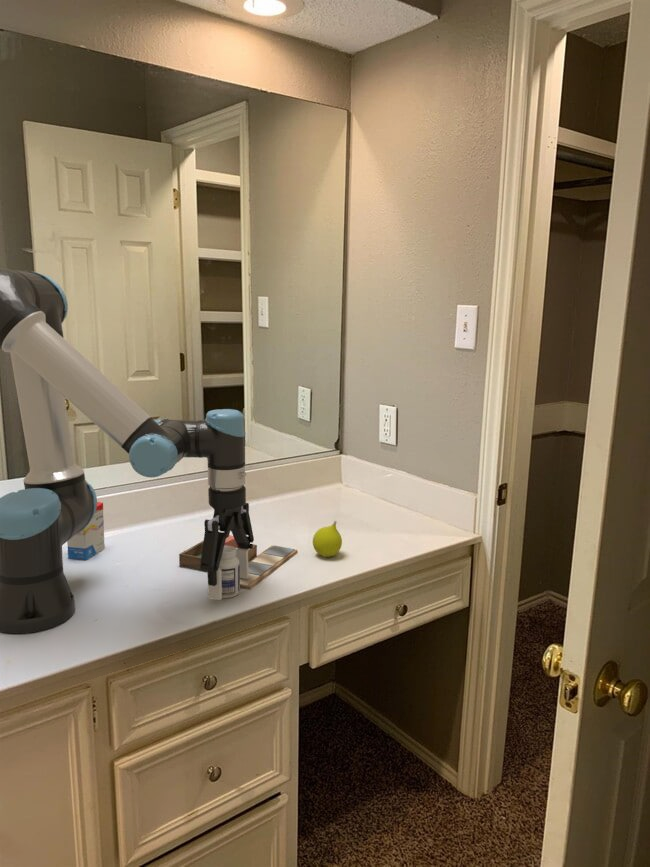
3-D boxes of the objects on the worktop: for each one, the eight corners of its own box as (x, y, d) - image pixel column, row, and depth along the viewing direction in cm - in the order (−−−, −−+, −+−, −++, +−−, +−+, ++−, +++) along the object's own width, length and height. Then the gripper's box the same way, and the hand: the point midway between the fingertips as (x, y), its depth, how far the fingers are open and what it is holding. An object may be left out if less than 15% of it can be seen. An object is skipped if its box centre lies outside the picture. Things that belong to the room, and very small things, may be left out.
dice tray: (228, 576, 145) (228, 563, 145) (179, 566, 150) (179, 554, 149) (256, 556, 157) (256, 545, 156) (210, 548, 162) (210, 536, 161)
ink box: (86, 561, 152) (83, 500, 149) (67, 558, 153) (64, 498, 150) (105, 548, 160) (103, 490, 157) (87, 546, 161) (84, 488, 158)
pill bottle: (224, 585, 140) (223, 542, 139) (244, 591, 138) (244, 547, 136) (208, 595, 136) (207, 550, 134) (229, 600, 133) (229, 555, 131)
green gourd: (346, 558, 157) (348, 518, 156) (320, 563, 154) (321, 522, 152) (332, 548, 164) (334, 510, 162) (307, 552, 160) (308, 513, 159)
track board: (249, 589, 139) (249, 586, 139) (221, 583, 141) (221, 580, 141) (297, 552, 160) (297, 549, 160) (272, 547, 163) (272, 544, 163)
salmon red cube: (223, 543, 150) (237, 537, 154) (207, 539, 152) (221, 533, 157) (223, 564, 151) (237, 557, 155) (207, 559, 153) (221, 552, 158)
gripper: (212, 504, 121) (215, 614, 126) (269, 474, 142) (270, 569, 146) (178, 499, 124) (182, 607, 128) (238, 470, 145) (240, 564, 149)
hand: (229, 587), depth 137 cm, fingers open, 10 cm apart
